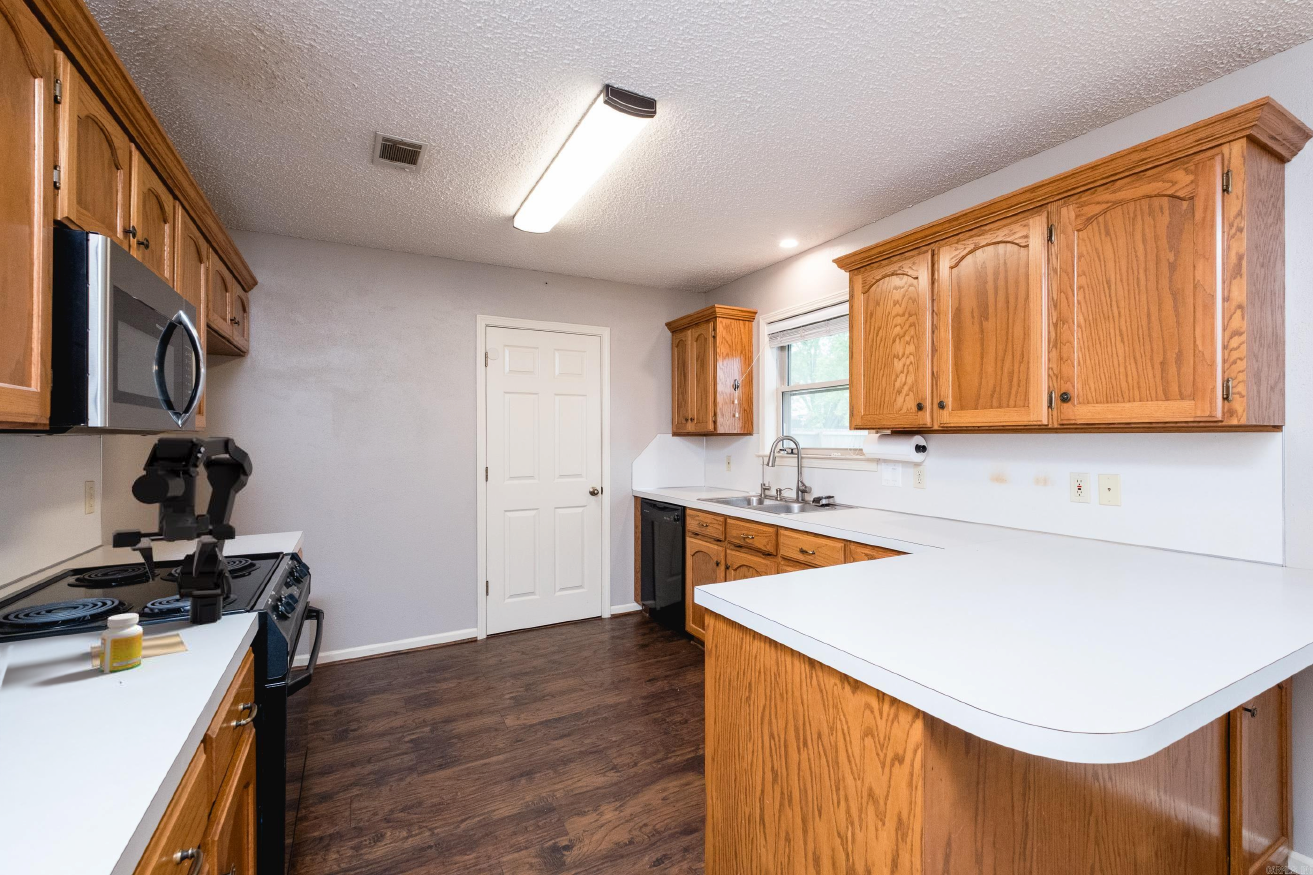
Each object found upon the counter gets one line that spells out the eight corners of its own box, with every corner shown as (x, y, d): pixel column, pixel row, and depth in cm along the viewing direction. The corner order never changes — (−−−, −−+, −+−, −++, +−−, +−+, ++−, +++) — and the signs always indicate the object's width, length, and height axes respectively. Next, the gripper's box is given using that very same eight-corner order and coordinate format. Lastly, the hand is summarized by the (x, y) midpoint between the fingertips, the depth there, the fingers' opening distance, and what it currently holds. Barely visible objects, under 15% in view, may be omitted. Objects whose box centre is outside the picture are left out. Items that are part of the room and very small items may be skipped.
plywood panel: (90, 651, 112) (91, 646, 112) (178, 636, 121) (178, 633, 121) (92, 671, 102) (92, 666, 102) (187, 654, 111) (187, 650, 111)
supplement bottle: (90, 677, 100) (92, 620, 100) (119, 665, 105) (121, 611, 106) (122, 677, 100) (124, 620, 100) (149, 666, 105) (151, 612, 105)
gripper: (116, 505, 105) (112, 593, 105) (242, 500, 118) (239, 578, 118) (113, 500, 113) (109, 582, 113) (231, 497, 126) (228, 570, 126)
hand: (174, 578), depth 117 cm, fingers open, 6 cm apart
